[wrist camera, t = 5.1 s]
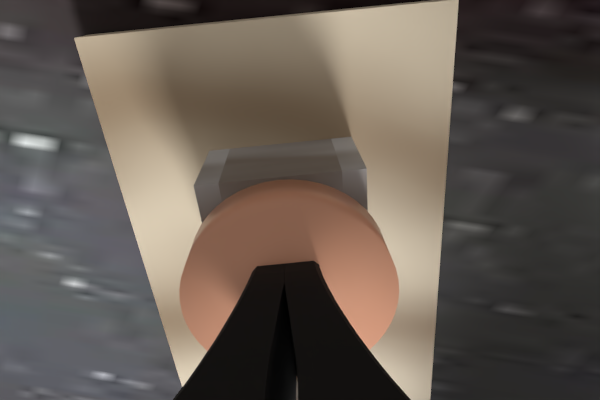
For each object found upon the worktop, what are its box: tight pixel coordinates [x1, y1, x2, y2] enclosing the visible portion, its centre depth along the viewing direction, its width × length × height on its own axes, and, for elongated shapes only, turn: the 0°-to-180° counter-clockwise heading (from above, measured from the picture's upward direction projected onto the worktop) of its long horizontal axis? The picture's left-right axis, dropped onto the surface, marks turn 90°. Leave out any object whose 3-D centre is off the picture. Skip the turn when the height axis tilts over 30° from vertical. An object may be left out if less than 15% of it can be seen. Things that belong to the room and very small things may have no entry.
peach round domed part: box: [179, 179, 399, 351], centre depth 11 cm, size 5×5×4 cm
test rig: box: [74, 0, 459, 400], centre depth 15 cm, size 21×10×4 cm, turn 5°
